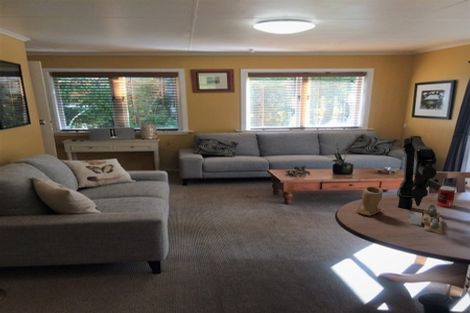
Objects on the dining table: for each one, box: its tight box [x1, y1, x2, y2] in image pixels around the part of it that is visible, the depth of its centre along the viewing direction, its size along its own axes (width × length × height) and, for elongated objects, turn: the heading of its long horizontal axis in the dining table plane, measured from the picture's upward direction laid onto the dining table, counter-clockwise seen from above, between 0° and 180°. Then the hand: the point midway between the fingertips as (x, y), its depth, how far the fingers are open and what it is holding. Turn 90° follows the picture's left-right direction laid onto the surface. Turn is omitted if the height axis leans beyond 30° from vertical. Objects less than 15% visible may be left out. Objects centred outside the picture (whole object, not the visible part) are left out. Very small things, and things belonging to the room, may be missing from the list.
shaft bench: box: [423, 204, 444, 235], centre depth 145 cm, size 8×27×5 cm, turn 148°
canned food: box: [436, 185, 456, 209], centre depth 166 cm, size 8×8×11 cm
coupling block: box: [408, 210, 423, 227], centre depth 144 cm, size 6×5×5 cm
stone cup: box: [355, 185, 383, 216], centre depth 156 cm, size 15×12×15 cm
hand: (417, 203), depth 143 cm, fingers open, 9 cm apart
